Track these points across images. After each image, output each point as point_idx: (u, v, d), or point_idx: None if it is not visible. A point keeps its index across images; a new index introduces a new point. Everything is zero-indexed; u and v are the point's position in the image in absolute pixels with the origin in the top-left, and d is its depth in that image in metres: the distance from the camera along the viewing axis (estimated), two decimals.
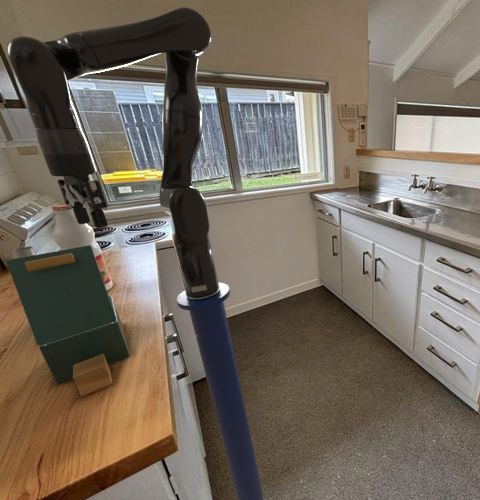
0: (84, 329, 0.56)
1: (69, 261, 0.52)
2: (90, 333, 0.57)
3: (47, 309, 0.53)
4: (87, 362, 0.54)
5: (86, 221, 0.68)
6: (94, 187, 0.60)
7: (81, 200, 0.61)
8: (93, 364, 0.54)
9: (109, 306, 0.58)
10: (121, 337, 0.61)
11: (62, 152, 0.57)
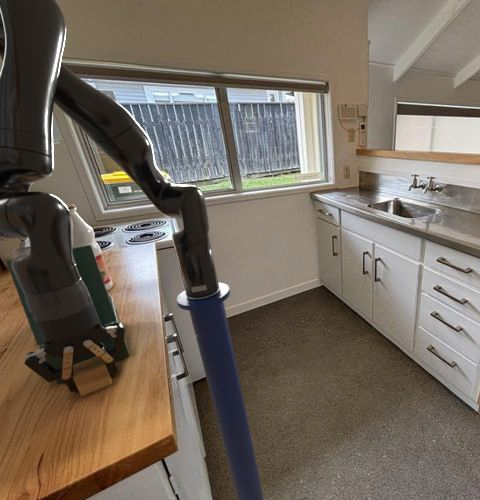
0: None
1: None
2: None
3: None
4: (87, 362, 0.54)
5: None
6: None
7: (102, 353, 0.53)
8: (93, 364, 0.54)
9: (109, 306, 0.58)
10: None
11: (88, 304, 0.50)
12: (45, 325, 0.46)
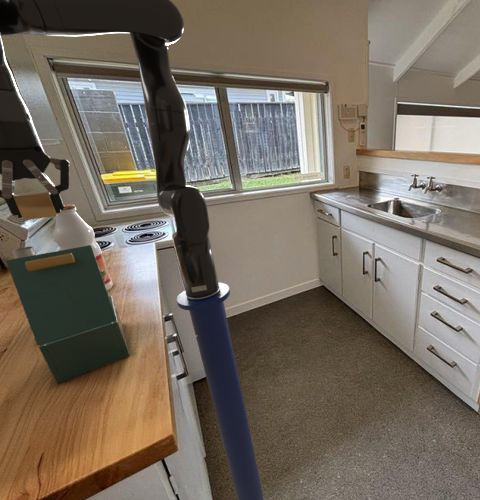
0: (84, 329, 0.56)
1: (69, 261, 0.52)
2: (90, 333, 0.57)
3: (47, 309, 0.53)
4: (31, 192, 0.55)
5: None
6: None
7: (45, 180, 0.54)
8: (36, 193, 0.54)
9: (109, 306, 0.58)
10: (121, 337, 0.61)
11: (27, 120, 0.50)
12: None
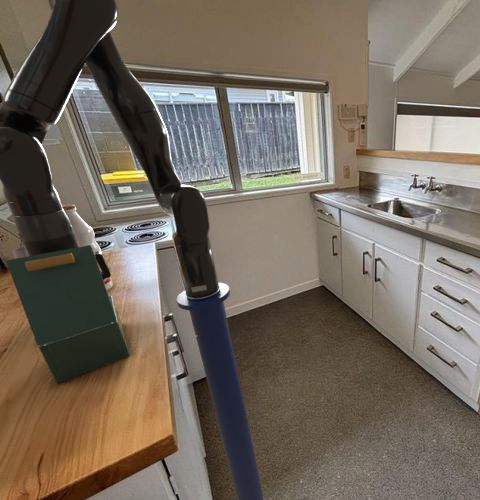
0: (84, 329, 0.56)
1: (69, 261, 0.52)
2: (90, 333, 0.57)
3: (47, 309, 0.53)
4: None
5: None
6: (103, 257, 0.64)
7: None
8: None
9: (109, 306, 0.58)
10: (121, 337, 0.61)
11: (69, 232, 0.58)
12: (32, 245, 0.54)
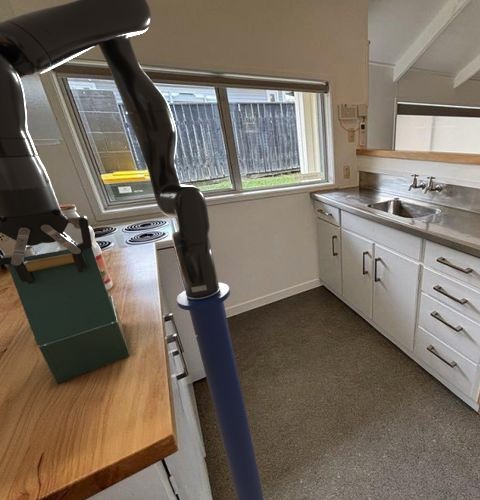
0: (84, 329, 0.56)
1: (69, 261, 0.52)
2: (90, 333, 0.57)
3: (47, 309, 0.53)
4: None
5: (33, 278, 0.51)
6: None
7: (66, 241, 0.51)
8: None
9: (109, 306, 0.58)
10: (121, 337, 0.61)
11: (45, 184, 0.48)
12: None
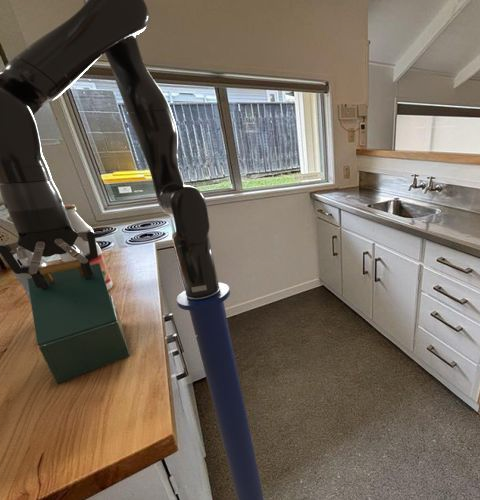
0: (83, 328, 0.56)
1: (76, 263, 0.60)
2: (90, 333, 0.57)
3: (53, 312, 0.56)
4: None
5: (47, 285, 0.58)
6: None
7: (75, 253, 0.59)
8: None
9: (110, 307, 0.60)
10: (121, 337, 0.61)
11: (58, 204, 0.55)
12: (18, 215, 0.51)
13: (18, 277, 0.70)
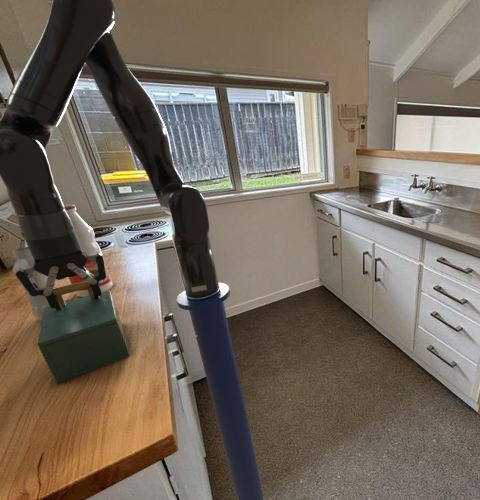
0: (84, 328, 0.56)
1: (85, 282, 0.65)
2: (90, 333, 0.57)
3: (59, 323, 0.58)
4: None
5: (60, 305, 0.63)
6: None
7: (86, 275, 0.63)
8: None
9: (112, 312, 0.61)
10: (121, 337, 0.61)
11: (70, 231, 0.60)
12: (34, 244, 0.56)
13: None
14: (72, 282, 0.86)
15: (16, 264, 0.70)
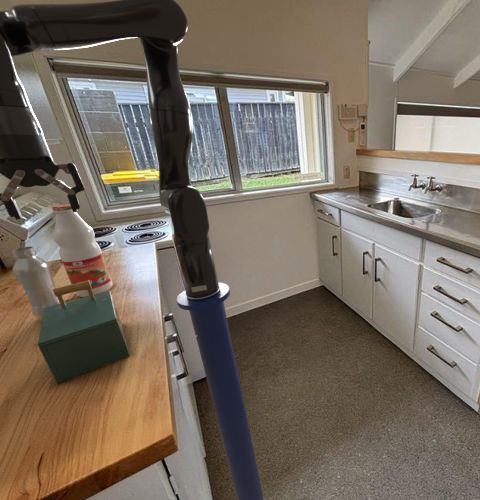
0: (83, 328, 0.56)
1: (85, 283, 0.65)
2: (90, 333, 0.57)
3: (59, 323, 0.58)
4: None
5: (21, 216, 0.58)
6: (76, 169, 0.62)
7: (59, 183, 0.59)
8: None
9: (112, 312, 0.61)
10: (121, 337, 0.61)
11: (38, 133, 0.56)
12: None
13: (18, 277, 0.70)
14: (72, 282, 0.86)
15: (16, 264, 0.70)
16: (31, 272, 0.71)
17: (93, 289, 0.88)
